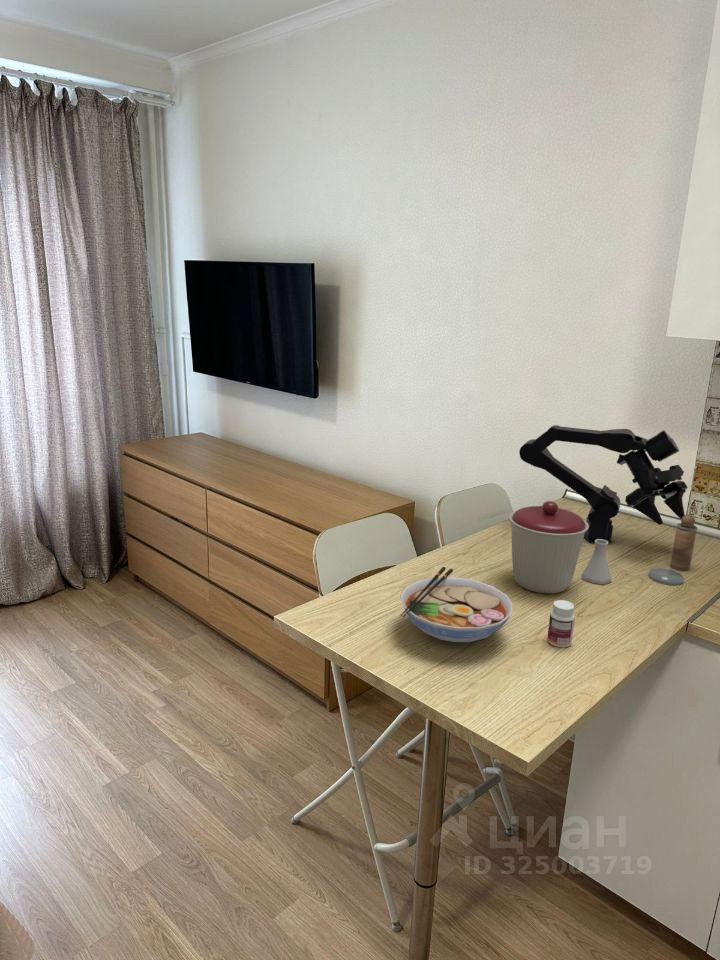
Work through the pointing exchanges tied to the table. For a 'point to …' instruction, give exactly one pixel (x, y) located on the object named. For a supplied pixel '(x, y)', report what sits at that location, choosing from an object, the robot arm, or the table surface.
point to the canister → (545, 546)
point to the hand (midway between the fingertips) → (672, 521)
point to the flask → (598, 565)
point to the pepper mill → (684, 544)
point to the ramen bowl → (455, 607)
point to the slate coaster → (666, 576)
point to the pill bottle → (561, 624)
